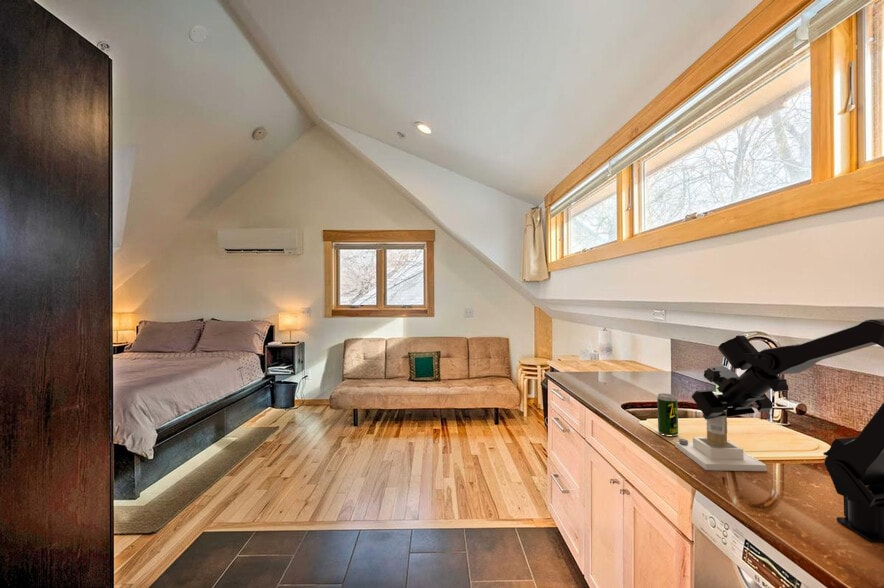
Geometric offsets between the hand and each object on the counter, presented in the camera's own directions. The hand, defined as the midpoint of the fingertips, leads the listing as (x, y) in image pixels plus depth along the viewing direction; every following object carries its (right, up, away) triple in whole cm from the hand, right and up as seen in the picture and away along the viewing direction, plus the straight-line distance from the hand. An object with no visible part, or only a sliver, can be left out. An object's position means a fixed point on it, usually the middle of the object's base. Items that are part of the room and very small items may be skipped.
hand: (712, 417), depth 99 cm
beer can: (-2, -11, +16) cm, 19 cm away
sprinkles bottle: (0, -7, -1) cm, 7 cm away
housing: (+1, -10, -1) cm, 11 cm away
